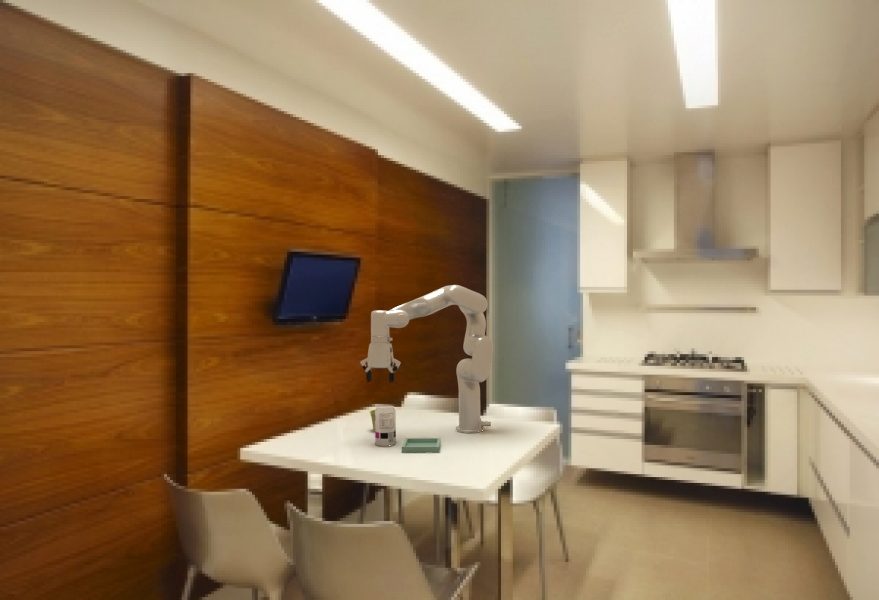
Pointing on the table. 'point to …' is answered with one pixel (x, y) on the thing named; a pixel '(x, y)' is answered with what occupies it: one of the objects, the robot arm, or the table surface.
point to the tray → (421, 445)
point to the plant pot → (373, 418)
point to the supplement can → (385, 425)
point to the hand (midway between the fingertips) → (380, 381)
